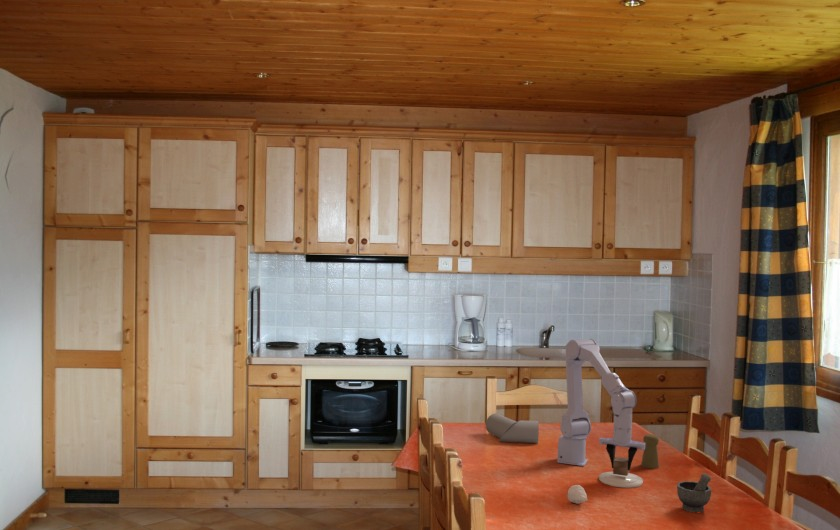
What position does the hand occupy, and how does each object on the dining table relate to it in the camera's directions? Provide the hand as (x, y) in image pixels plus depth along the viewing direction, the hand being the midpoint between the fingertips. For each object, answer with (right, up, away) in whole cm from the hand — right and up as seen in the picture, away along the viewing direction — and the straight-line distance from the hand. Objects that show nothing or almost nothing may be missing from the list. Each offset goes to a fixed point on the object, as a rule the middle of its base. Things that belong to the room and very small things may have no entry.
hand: (621, 468), depth 256 cm
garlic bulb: (-19, -5, -24) cm, 30 cm away
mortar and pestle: (+15, -6, -26) cm, 30 cm away
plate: (0, -4, 0) cm, 4 cm away
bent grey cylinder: (-30, -2, +49) cm, 58 cm away
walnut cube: (0, -2, 0) cm, 2 cm away
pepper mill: (+15, -4, +18) cm, 23 cm away
